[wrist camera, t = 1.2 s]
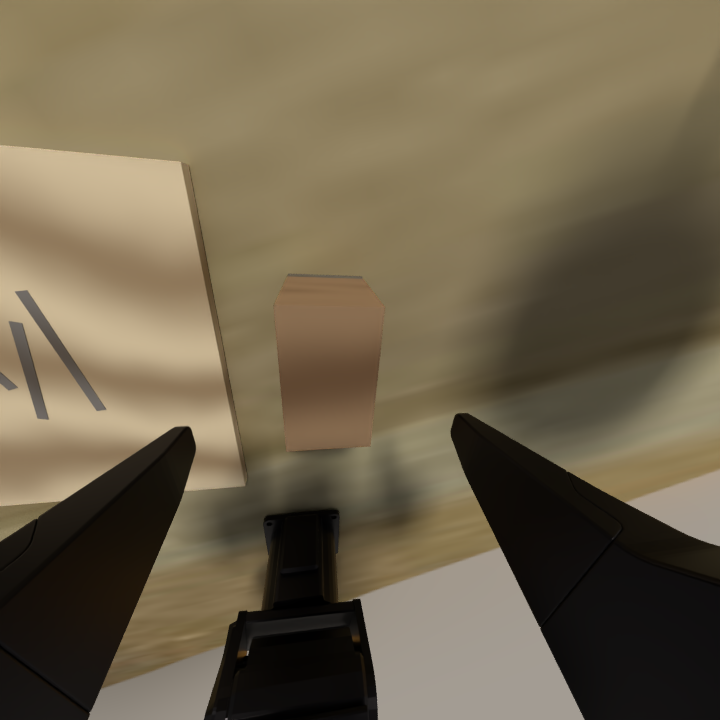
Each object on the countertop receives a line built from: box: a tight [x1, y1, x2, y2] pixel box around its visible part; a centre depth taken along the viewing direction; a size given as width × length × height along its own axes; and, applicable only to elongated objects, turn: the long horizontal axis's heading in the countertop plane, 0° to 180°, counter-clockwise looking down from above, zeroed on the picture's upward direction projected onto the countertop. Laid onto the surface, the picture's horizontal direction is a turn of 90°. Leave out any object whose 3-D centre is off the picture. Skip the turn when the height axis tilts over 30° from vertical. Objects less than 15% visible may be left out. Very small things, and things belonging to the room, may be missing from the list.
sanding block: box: [274, 274, 385, 452], centre depth 14 cm, size 7×4×6 cm, turn 177°
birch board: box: [0, 145, 248, 506], centre depth 15 cm, size 20×18×1 cm
